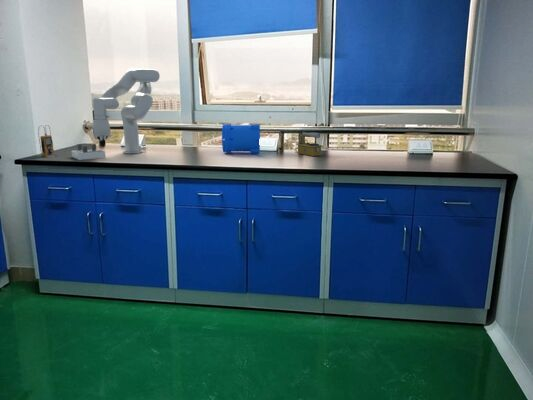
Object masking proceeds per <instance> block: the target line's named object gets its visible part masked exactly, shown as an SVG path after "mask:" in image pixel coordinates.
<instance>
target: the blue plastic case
mask: <svg viewBox="0 0 533 400" xmlns="http://www.w3.org/2000/svg"><path fill="white" fill-rule="evenodd" d="M221 128H222V129H221V145H222V146H221V147H222V152H223V153H232V152H249V153H250V154H260V153H261V151H260V150H261V144H260V145H259V139H260V140H261V125H260V124H250V125H249V124H235V125H234V124H230V123H223V124H222V127H221Z"/></svg>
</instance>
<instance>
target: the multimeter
mask: <svg viewBox="0 0 533 400" xmlns="http://www.w3.org/2000/svg"><path fill="white" fill-rule="evenodd" d="M40 127H41V125H39V126H38V128H40ZM48 127H49V129H51V127H50V126H48ZM43 129H44V130H43V131H46V130H47V128H46V126H44V127H43ZM37 130H38V133H37V134H40V129H37ZM49 133H50V135H48V134H47V132H45V133H44V135H41V136H39V138H38V141H39V142H38V143H40V145H39V147H40V148H39V149H40V150H41V151H40V152H41V153H40V154H41V157H42V158H45V159H46V158H47V157H48V158H49V157H50V158H53V157H58V156H59V154H55V151H54V144H53V143H54V142H53V137H52V135H51V134H52V133H51V131H49Z"/></svg>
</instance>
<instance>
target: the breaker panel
mask: <svg viewBox="0 0 533 400" xmlns="http://www.w3.org/2000/svg"><path fill="white" fill-rule="evenodd" d="M87 151H88V152H82V150H77V149H73V150H71V156H72V157H71V158H74V159H76V160H78V161H82V160H93V159H105V158H106V152H105V150H102V149H99V148H96V150H91V148H90V149H88V148H87Z"/></svg>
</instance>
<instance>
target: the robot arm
mask: <svg viewBox="0 0 533 400" xmlns="http://www.w3.org/2000/svg"><path fill="white" fill-rule="evenodd" d="M160 78H161V77H160V73H159V71H158V70H157V69H155V68H150V69H149V68H130V69H128V70H127V71H126V72H125V73H124V74H123V76H122V77H121V78H120V80H119V81H118V82H117V83H116V84H115V85H113V86H111V87H110V88H108V89H107V90H106V91H105V92H104V93H103V94H102V95H101V97H94V98H93V99H92V104H93V105H92V106H93V107H92V108H93V118H94V119H93V120H92V135H93V138H95V139H97V140H99V146H100V147H102V148H105V147H106V144H107V143H106V140H107V139H108V138H110V137H111V136H112V135H111V126H110V122H109V118H110V115H108V114H107V113H108V111H107V110H116V109H118V108H119V106H120V101H119V100H118V99H117V98H119V97H121V96H123V95H126V94H128V93H129V92H130V91H131V89H132V88H133V86H135V84H136V83H139V86H138V89H137V90H136V91H135V93H134V94H133V96H132V97H131V100H130V104H131V105H125V106H123V107H122V108H121V110H120V115H121V120H122V126H123V138H124V139H123V140H124V141H123V142H124V150H123V151H122V153H123V154H139V153H140V154H141V153H142V152H143V150H146V149H147V146H146V145H144V146H142V145H140V139H139V138H140V137H139V125H138V122H137V121H142V120H143V119H144V118H145V116H146V115H148V112H150V109H151V108H152V106H153V103H154V99H153V97H152V96H151V94H152V85H151V83H156V82H159V80H160Z"/></svg>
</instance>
